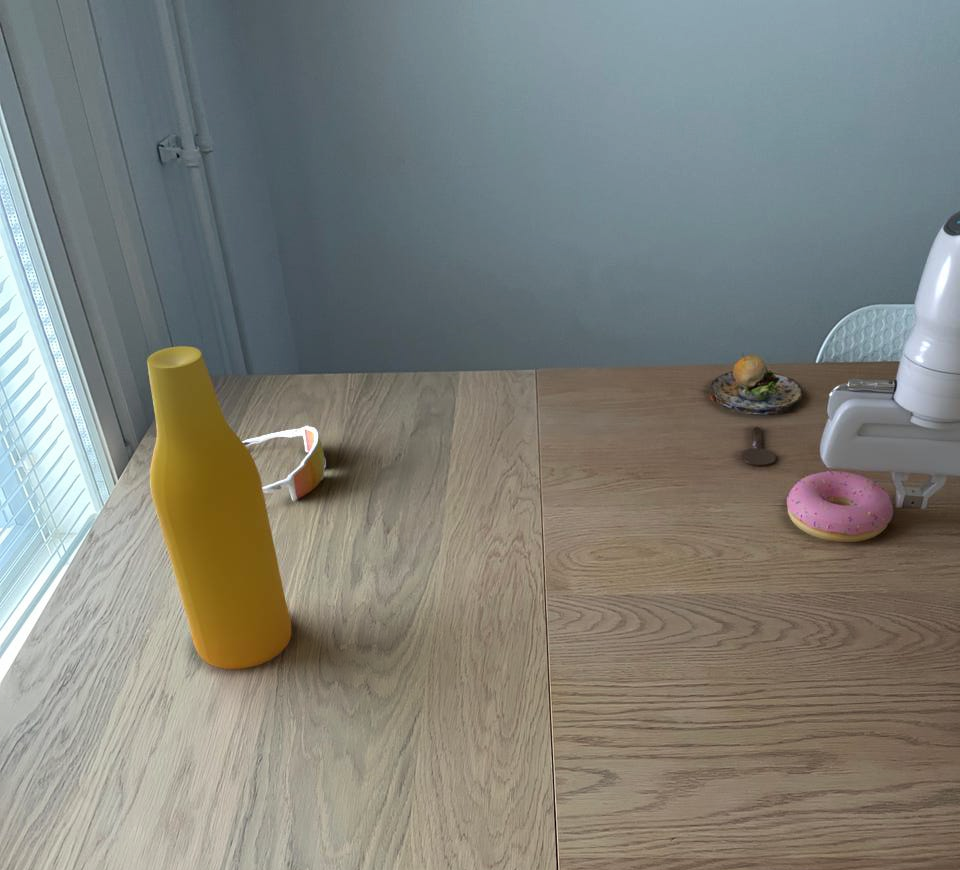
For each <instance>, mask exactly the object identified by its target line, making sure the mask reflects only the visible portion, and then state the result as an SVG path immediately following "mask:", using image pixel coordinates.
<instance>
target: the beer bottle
mask: <svg viewBox="0 0 960 870" xmlns="http://www.w3.org/2000/svg"><path fill="white" fill-rule="evenodd" d="M146 363H147V370H148V377H149V384H150V385H149V386H150V391H151V397H152V403H153V411H154V417H155V425H156V438H155V439H156V440H155V445H154V448H153V452H152V457H151V462H150V469H149V486H150V493H151V494H150V495H151V499H152V503H153V507H154V509H155V512H156V517H157V519H158V522H159V526H160V529H161V533H162V536H163V539H164V543H165V546H166V549H167V550H166V551H167V553H168V557H169V560H170V563H171V567H172V571H173V574H174V576H175V581H176V584H177V588H178V592H179V595H180V598H181V601H182V605H183V608H184V612H185V615H186V619H187V623H188V625H189V630H190V635H191V639H192V642H193V646H194V648H195V650H196V652H197V655H199V657H200V658H201V659H202V661H203V662H205V663H207V664H208V665H210V666H213V667H215V668H219V669H224V670H240V669H241V670H242V669H249V668H253V667H257V666H260V665H262V664H264V663H266V662H269V661H271V660H272V659H274V658H275V657H277V656H278V655H280V654H281V653H282V652H283V651H284V649H285V648H286V647H288V644H289V643H290V640H291V637H292V620H291V616H290V612H289V609H288V604H287V600H286V596H285V591H284V587H283V586H284V585H283V582H282V577H281V576H282V575H281V572H280V571H281V570H280V566H279V562H278V557H277V552H276V548H275V543H274V538H273V533H272V529H271V524H270V519H269V514H268V510H267V509H268V508H267V504H266V499H265V495H264V494H265V493H263V488H262V487H263V483H262V479H261V475H260V472H259V469H258V467H257V465H256V462H255V459H254V458H253V456H252V453H251V452H250V451H249V449H248V448H247V446H245V445H244V444H243V441H242V440H241V438H240V437H239V436H238V434H236V432H235V431H234V429H232V427H231V426H230V424H229V423H228V422H227V420H226V418H225V416H224V413H223V410H222V408H221V405H220V402H219V399H218V396H217V393H216V390H215V388H214V385H213V382H212V379H211V376H210V373H209V371H208V368H207V365H206V361H205V359H204V357H203V354H202V351H201V350H200V349H199V348H197V347H194V346H185V345H179V346H172V347H167V348H163V349H160V350H157V351H155V352H153V353H152V354H151V355H149V356H148V357H147V359H146Z"/></svg>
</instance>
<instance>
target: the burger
mask: <svg viewBox="0 0 960 870" xmlns="http://www.w3.org/2000/svg"><path fill="white" fill-rule="evenodd" d="M741 353H742V358H740V359H738V360H737V362H736V363H735V364H734V366H733V368H732V370H731V371H729V372H726V373H723V374H721V375H719V376H718V377H716V378H715V379H713V380H712V382H711V384H710V389H709V390H710V392H709V394H710V396H709V399H710V400H711V401H712V402H715V403H719V404H720V406H722V407H723V408H724V409H727V410H729V411H730V412H734V413H741V414H749V415H765V416H769V415H770V416H771V415H783V414H785V413H790V411H791V409H792V407H793V406H794V405H795V404H798V403H799V402H800V401H801V400H802V395H803V393H804V392H803V388H802V386H801V385H800V384H799V382H797V381H796V380H795V379H793V378H790V377H789V376H785V375H784V374H783V375H782V374H780V373H777V372H773V371H772V370H768V368H767V365H766V362H765V360H764V359H763V358H762V357H760V356H758V355H747V356H744V352H743V349H742V348H741Z"/></svg>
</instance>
